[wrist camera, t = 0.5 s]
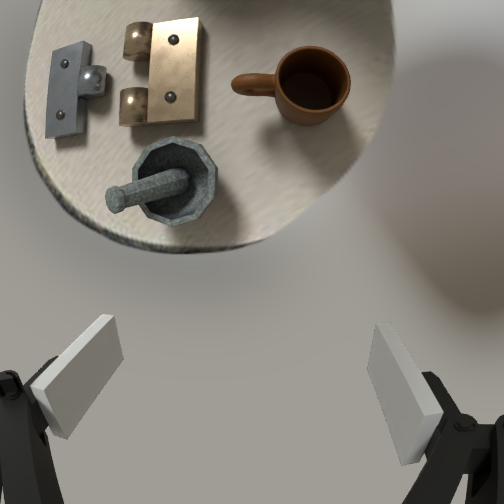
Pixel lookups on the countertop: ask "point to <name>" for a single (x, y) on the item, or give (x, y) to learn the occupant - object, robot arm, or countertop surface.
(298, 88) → the mug
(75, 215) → the countertop surface
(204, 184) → the mortar and pestle
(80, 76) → the loose leaf
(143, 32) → the fixed leaf
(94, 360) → the robot arm
